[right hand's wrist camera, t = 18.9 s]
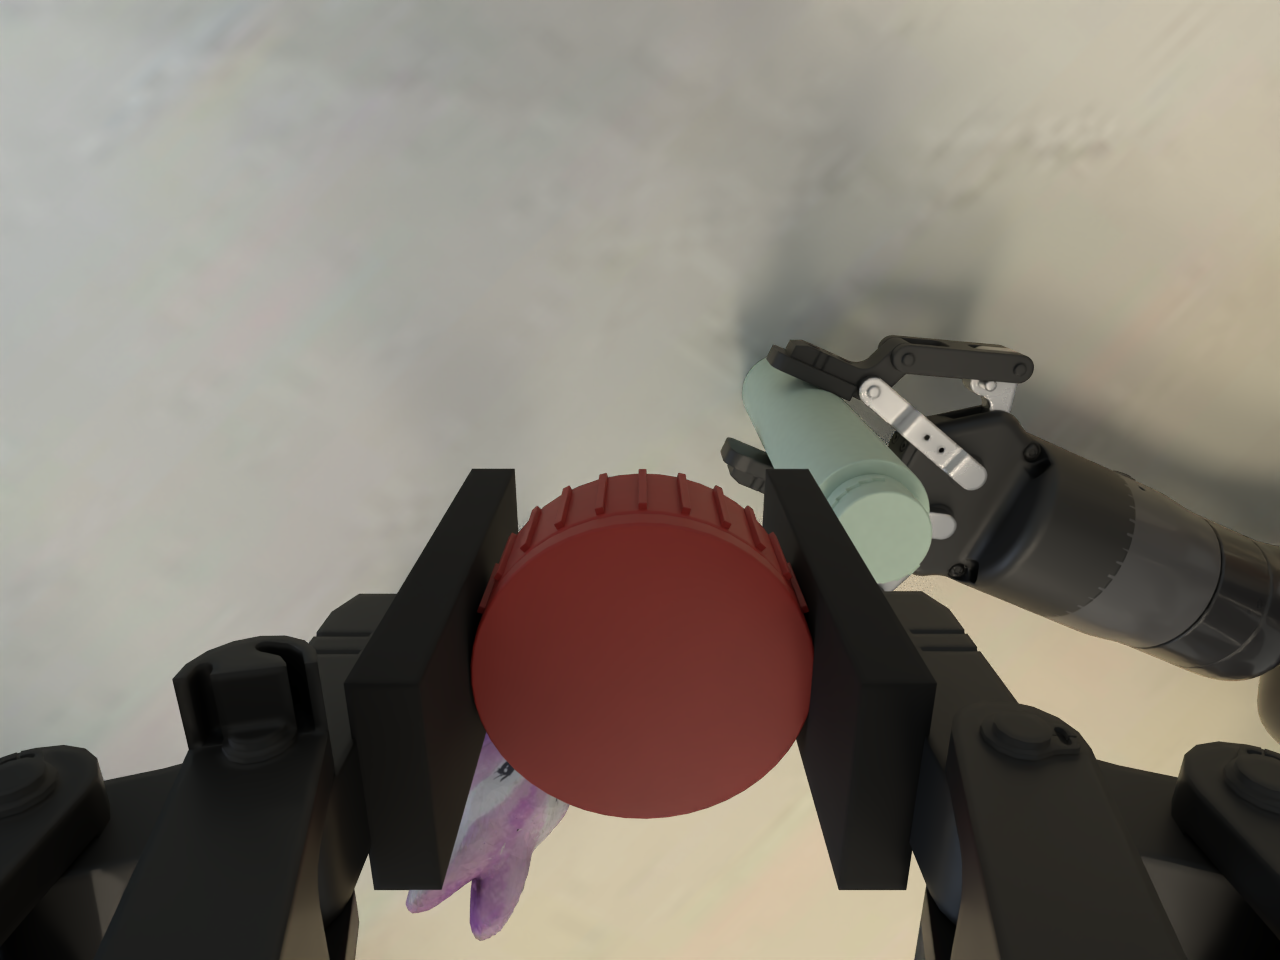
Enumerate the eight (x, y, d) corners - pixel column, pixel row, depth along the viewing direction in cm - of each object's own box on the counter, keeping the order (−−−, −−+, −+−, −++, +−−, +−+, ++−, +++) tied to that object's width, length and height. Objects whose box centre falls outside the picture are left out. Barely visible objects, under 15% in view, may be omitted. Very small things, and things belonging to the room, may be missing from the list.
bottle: (726, 392, 42) (788, 539, 24) (782, 337, 41) (890, 449, 23) (777, 443, 43) (873, 620, 25) (834, 390, 42) (975, 537, 24)
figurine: (595, 635, 47) (576, 827, 33) (565, 773, 50) (536, 1002, 36) (435, 605, 46) (344, 789, 32) (415, 748, 50) (326, 971, 35)
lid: (836, 506, 11) (871, 563, 10) (746, 761, 13) (762, 851, 11) (521, 433, 11) (499, 479, 9) (466, 706, 13) (438, 789, 11)
